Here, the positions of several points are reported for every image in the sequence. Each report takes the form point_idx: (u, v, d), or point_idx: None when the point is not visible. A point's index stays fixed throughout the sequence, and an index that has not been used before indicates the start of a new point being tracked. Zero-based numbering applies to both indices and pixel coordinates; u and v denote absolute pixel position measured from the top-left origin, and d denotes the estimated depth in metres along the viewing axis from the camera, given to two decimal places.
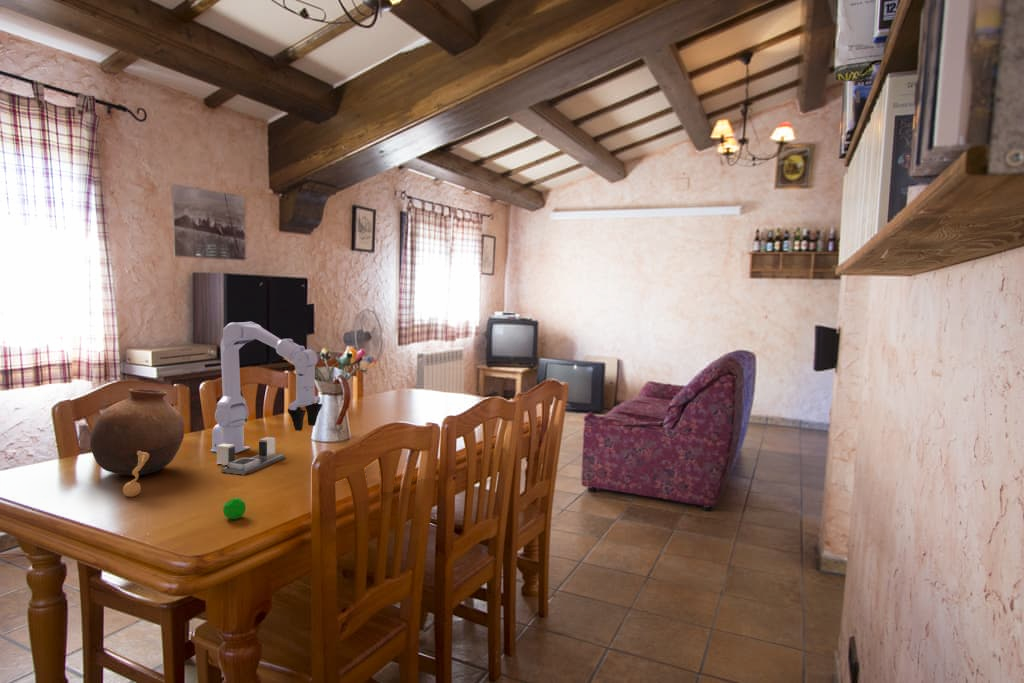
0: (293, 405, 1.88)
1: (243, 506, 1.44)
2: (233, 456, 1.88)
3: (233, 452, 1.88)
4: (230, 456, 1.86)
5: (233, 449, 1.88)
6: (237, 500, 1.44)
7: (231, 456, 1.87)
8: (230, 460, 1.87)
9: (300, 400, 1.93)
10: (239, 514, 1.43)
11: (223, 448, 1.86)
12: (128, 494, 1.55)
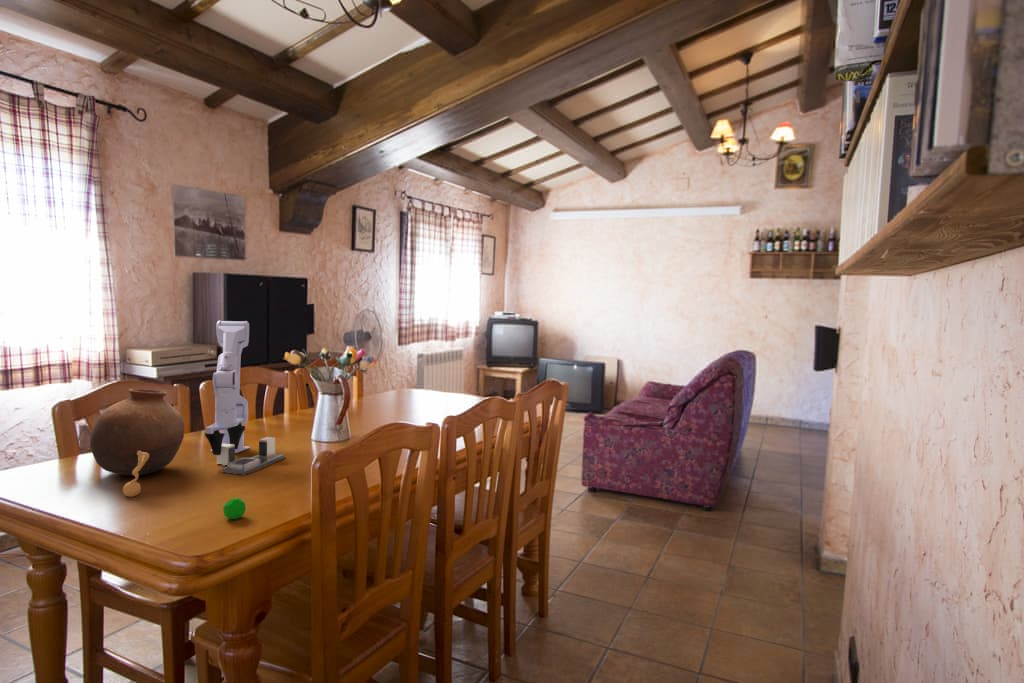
0: (209, 429, 1.80)
1: (243, 506, 1.44)
2: (233, 456, 1.88)
3: (233, 452, 1.88)
4: (230, 456, 1.86)
5: (233, 449, 1.88)
6: (237, 500, 1.44)
7: (231, 456, 1.87)
8: (230, 460, 1.87)
9: (219, 423, 1.84)
10: (239, 514, 1.43)
11: (223, 448, 1.86)
12: (128, 494, 1.55)
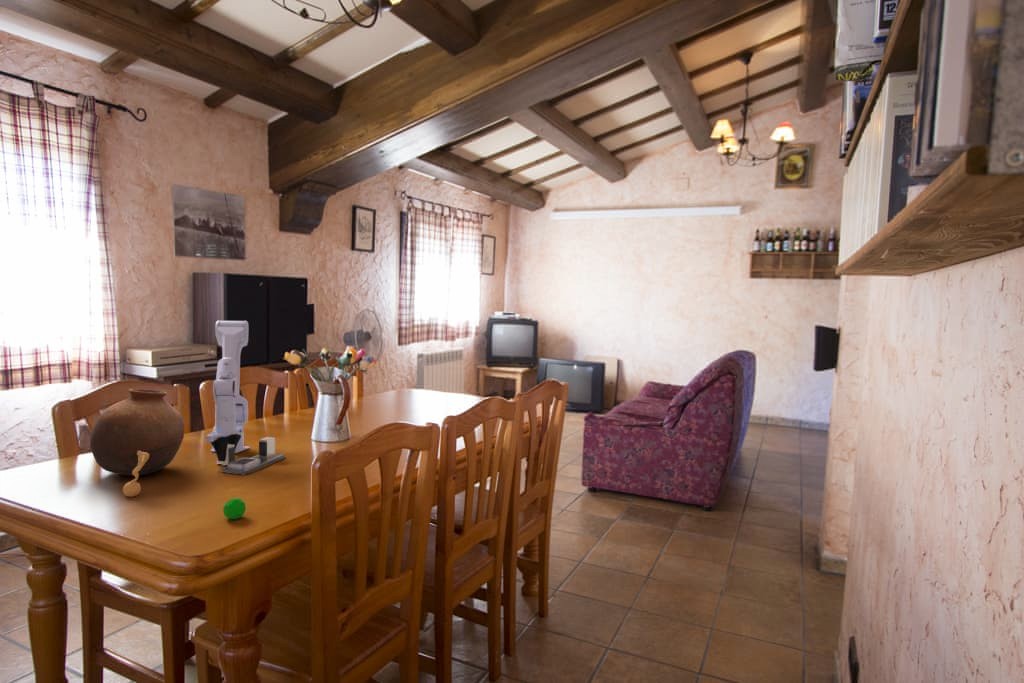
0: (210, 437, 1.80)
1: (243, 506, 1.44)
2: (233, 456, 1.88)
3: (233, 452, 1.88)
4: (230, 456, 1.86)
5: (233, 449, 1.88)
6: (237, 500, 1.44)
7: (231, 456, 1.87)
8: (230, 460, 1.87)
9: (219, 431, 1.84)
10: (239, 514, 1.43)
11: None
12: (128, 494, 1.55)
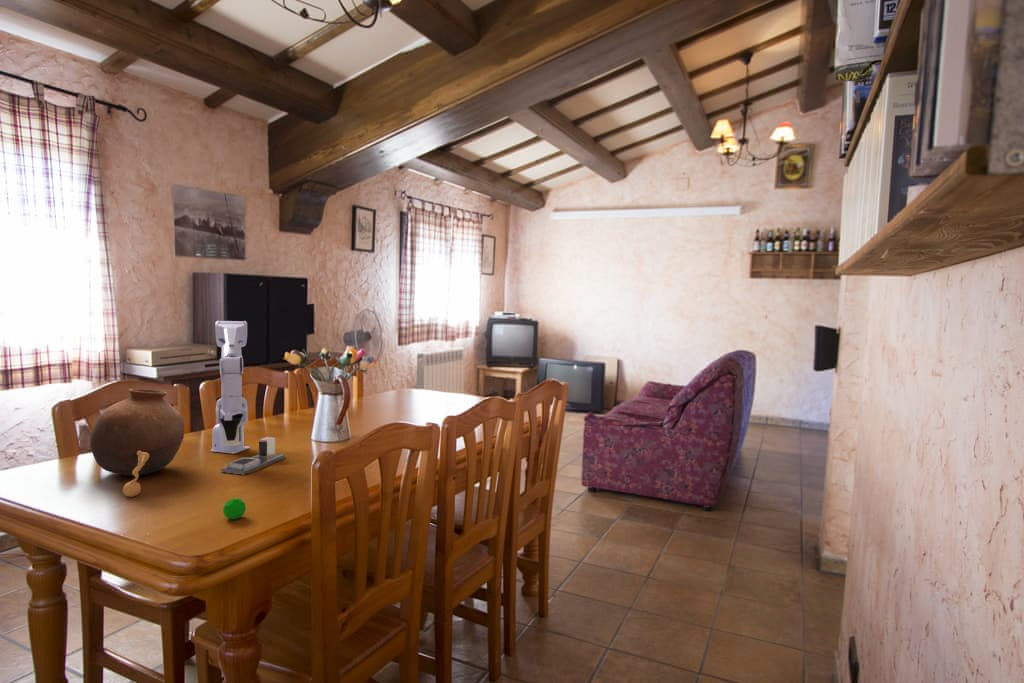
0: (229, 415, 1.78)
1: (243, 506, 1.44)
2: (241, 435, 1.87)
3: (241, 431, 1.87)
4: (240, 435, 1.85)
5: (241, 428, 1.86)
6: (237, 500, 1.44)
7: (240, 436, 1.86)
8: (240, 439, 1.85)
9: (230, 410, 1.82)
10: (239, 514, 1.43)
11: None
12: (128, 494, 1.55)
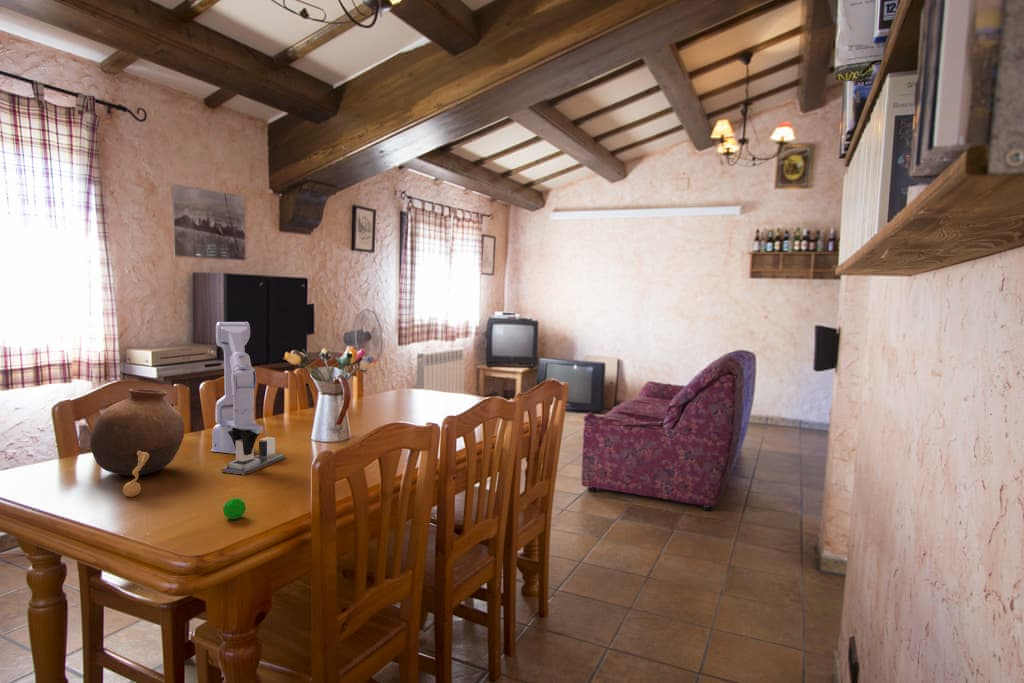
0: (261, 428, 1.79)
1: (243, 506, 1.44)
2: None
3: None
4: None
5: None
6: (237, 500, 1.44)
7: None
8: None
9: (250, 423, 1.81)
10: (239, 514, 1.43)
11: None
12: (128, 494, 1.55)
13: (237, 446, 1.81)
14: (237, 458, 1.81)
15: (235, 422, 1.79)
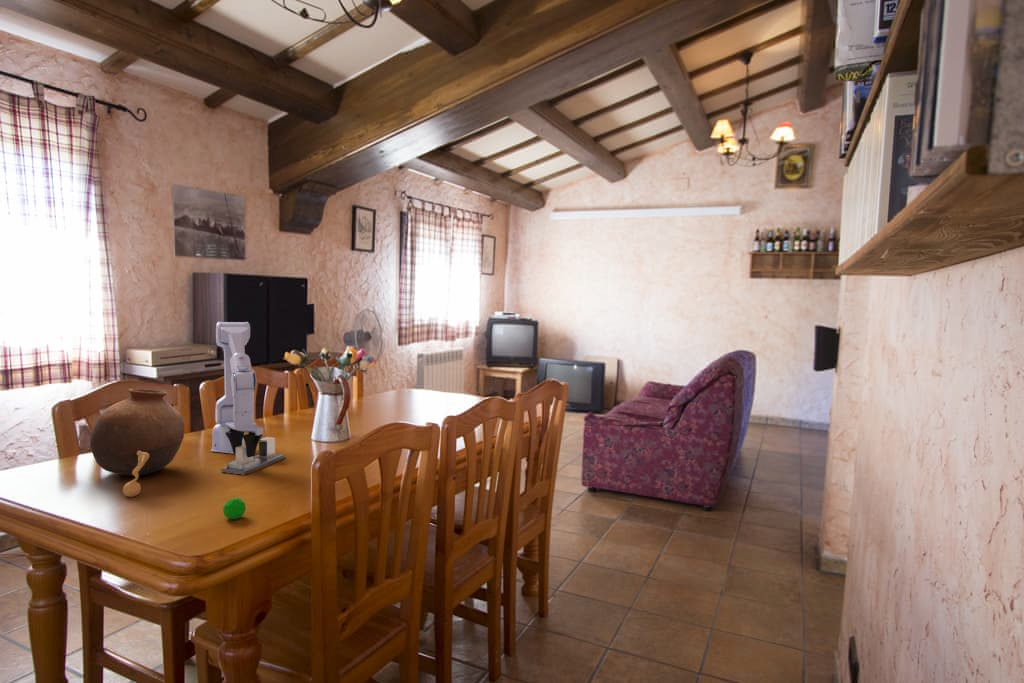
0: (261, 429, 1.79)
1: (243, 506, 1.44)
2: None
3: None
4: None
5: None
6: (237, 500, 1.44)
7: None
8: None
9: (250, 425, 1.81)
10: (239, 514, 1.43)
11: None
12: (128, 494, 1.55)
13: (237, 453, 1.81)
14: None
15: (235, 424, 1.79)
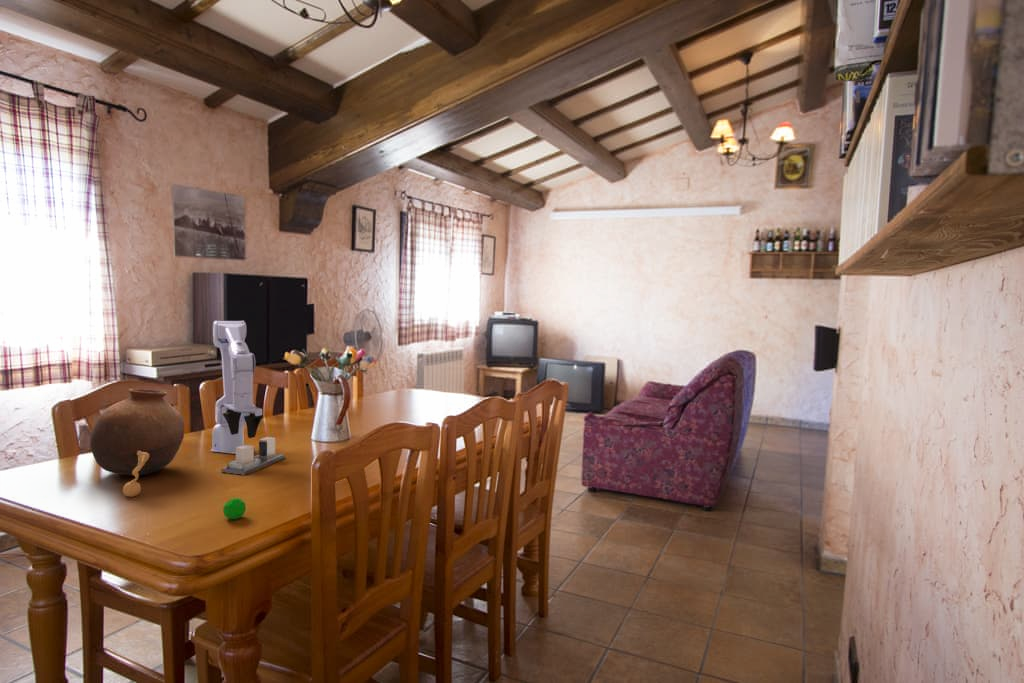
0: (261, 410, 1.83)
1: (243, 506, 1.44)
2: None
3: None
4: None
5: None
6: (237, 500, 1.44)
7: None
8: None
9: (249, 406, 1.85)
10: (239, 514, 1.43)
11: (249, 448, 1.82)
12: (128, 494, 1.55)
13: (237, 453, 1.81)
14: None
15: (234, 405, 1.83)
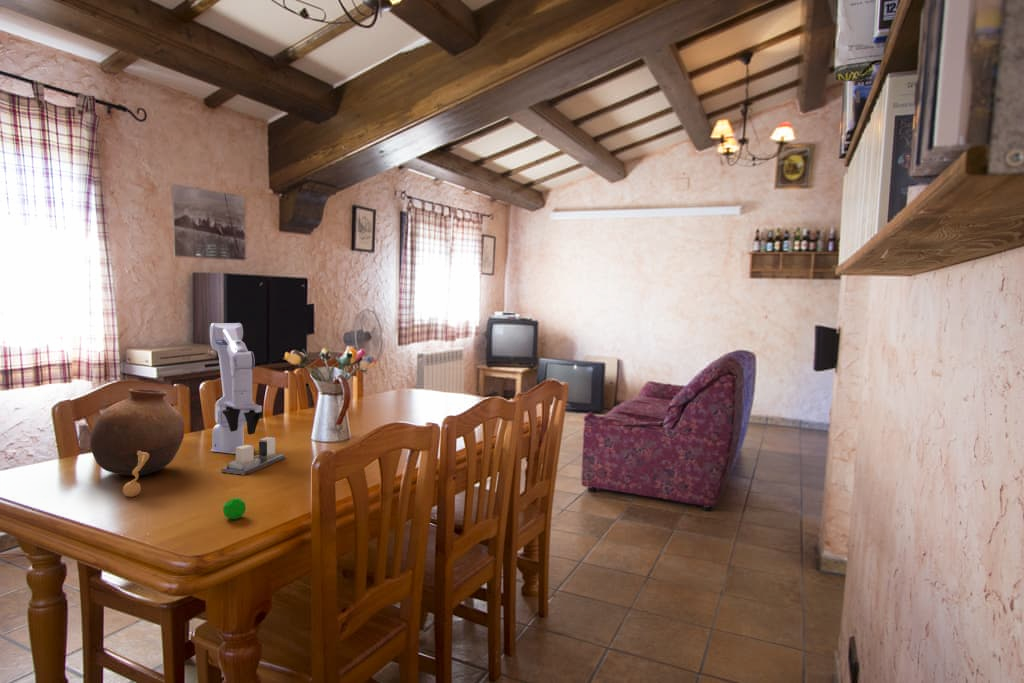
0: (260, 407, 1.87)
1: (243, 506, 1.44)
2: None
3: None
4: None
5: None
6: (237, 500, 1.43)
7: None
8: None
9: (249, 403, 1.89)
10: (239, 514, 1.43)
11: (249, 448, 1.82)
12: (128, 494, 1.55)
13: (237, 453, 1.81)
14: None
15: (234, 402, 1.87)
